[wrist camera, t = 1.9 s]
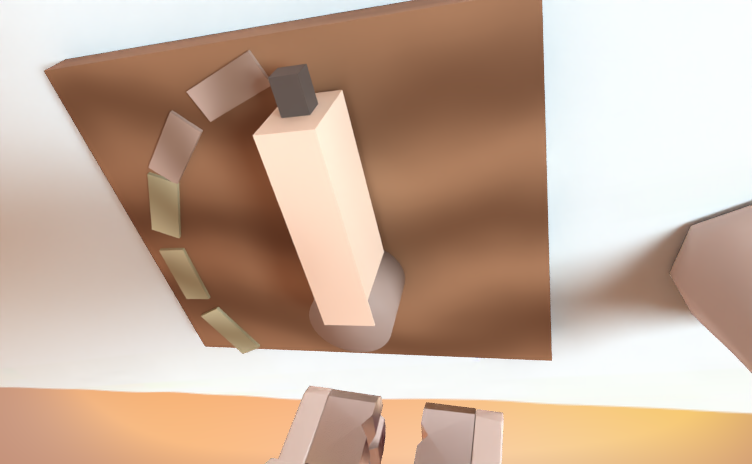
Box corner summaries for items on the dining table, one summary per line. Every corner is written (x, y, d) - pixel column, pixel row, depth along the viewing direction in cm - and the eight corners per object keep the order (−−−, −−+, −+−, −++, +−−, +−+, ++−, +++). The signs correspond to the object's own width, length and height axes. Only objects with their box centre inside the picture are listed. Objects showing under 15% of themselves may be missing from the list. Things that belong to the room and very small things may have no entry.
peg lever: (411, 302, 28) (398, 355, 25) (341, 301, 29) (321, 352, 26) (351, 46, 20) (322, 83, 17) (258, 60, 21) (218, 96, 19)
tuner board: (65, 59, 25) (40, 72, 24) (541, -22, 19) (541, -10, 17) (217, 333, 36) (205, 352, 35) (550, 343, 30) (552, 367, 28)
